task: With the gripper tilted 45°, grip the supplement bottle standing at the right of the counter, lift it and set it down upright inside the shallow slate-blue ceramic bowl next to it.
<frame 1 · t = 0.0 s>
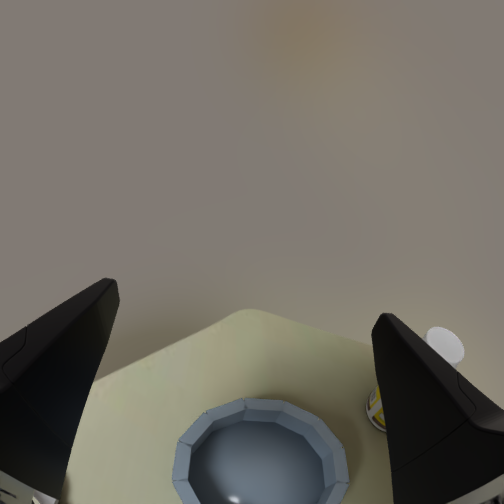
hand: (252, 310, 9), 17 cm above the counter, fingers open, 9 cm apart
supplement bottle: (386, 412, 23), on the counter
bowl: (257, 477, 16), on the counter
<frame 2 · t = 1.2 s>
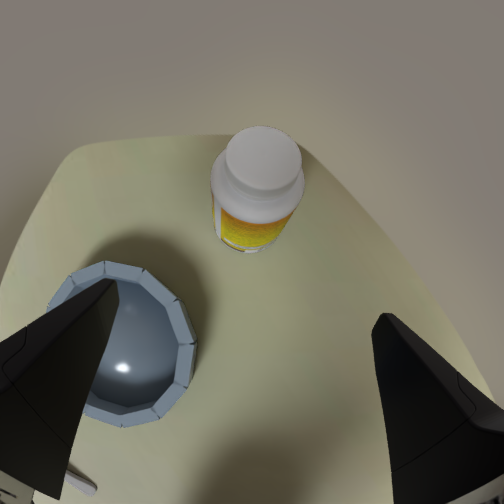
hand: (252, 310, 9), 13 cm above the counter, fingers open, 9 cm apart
supplement bottle: (246, 222, 24), on the counter
bowl: (122, 344, 20), on the counter
spoon: (49, 452, 17), on the counter
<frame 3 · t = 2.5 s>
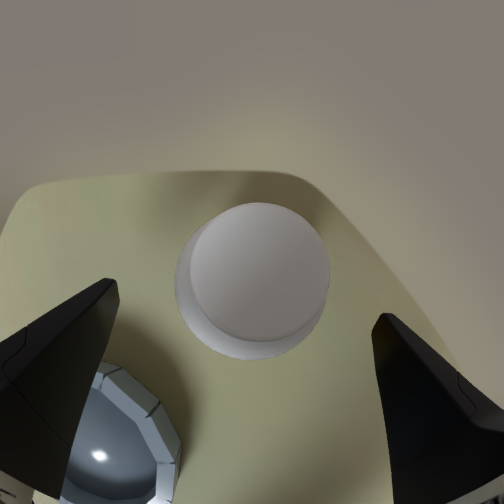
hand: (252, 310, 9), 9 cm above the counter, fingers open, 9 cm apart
supplement bottle: (239, 300, 18), on the counter
bowl: (95, 439, 14), on the counter
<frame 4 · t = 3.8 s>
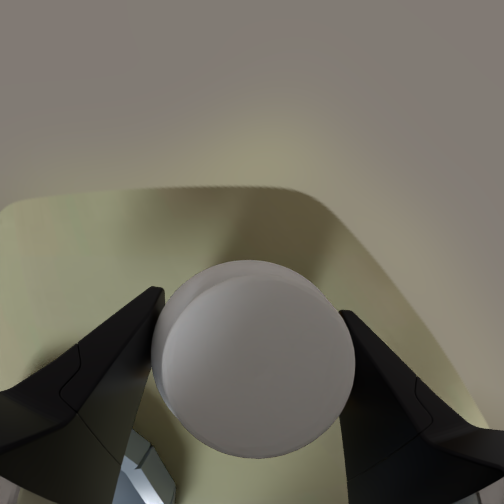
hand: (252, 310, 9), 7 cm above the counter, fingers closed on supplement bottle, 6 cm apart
supplement bottle: (236, 339, 15), on the counter, touching gripper
bowl: (87, 476, 12), on the counter
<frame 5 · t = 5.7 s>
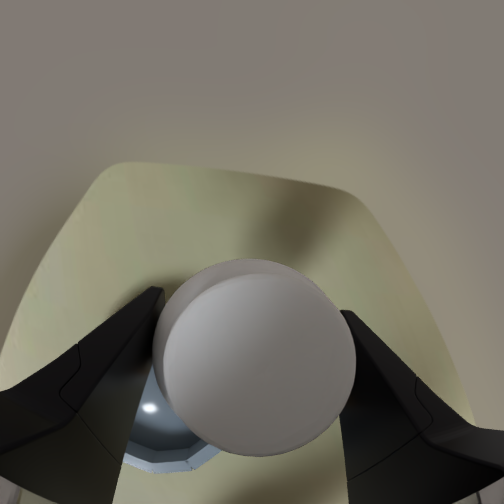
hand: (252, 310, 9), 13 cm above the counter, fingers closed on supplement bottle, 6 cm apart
supplement bottle: (236, 338, 15), point 6 cm above the counter, touching gripper
bowl: (156, 392, 20), on the counter
when the fingers open (8 cm above the counter, at t = 7.7 s): supplement bottle stays where it is, resting on bowl.
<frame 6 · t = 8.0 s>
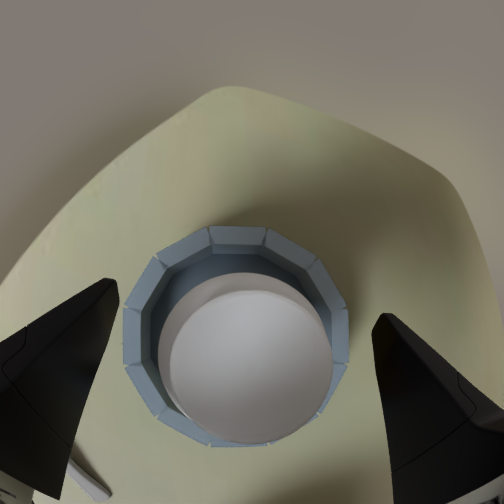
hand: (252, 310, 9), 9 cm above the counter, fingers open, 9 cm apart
supplement bottle: (234, 341, 16), point 1 cm above the counter, touching bowl
bowl: (235, 337, 17), on the counter
spoon: (59, 436, 14), on the counter
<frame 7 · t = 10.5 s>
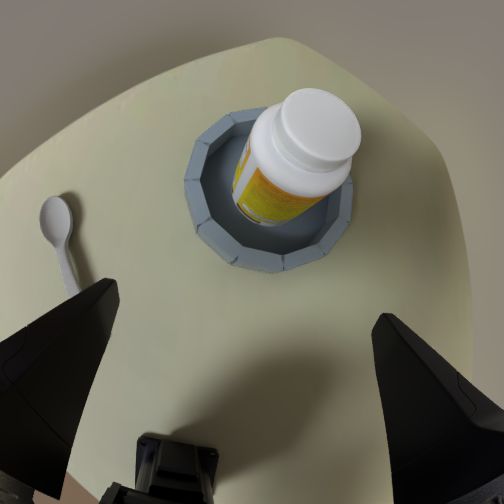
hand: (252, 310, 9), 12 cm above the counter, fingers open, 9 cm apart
supplement bottle: (266, 192, 22), point 1 cm above the counter, touching bowl
bowl: (265, 193, 22), on the counter
spoon: (74, 270, 19), on the counter
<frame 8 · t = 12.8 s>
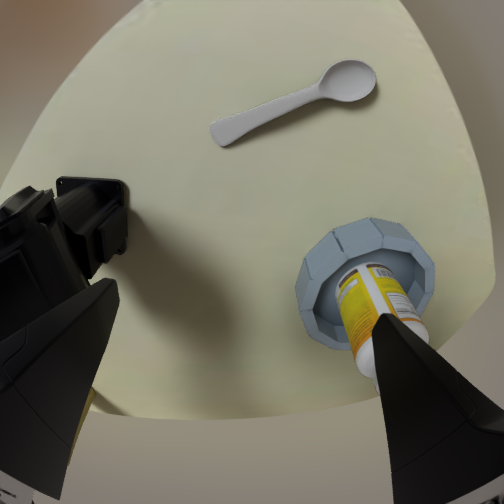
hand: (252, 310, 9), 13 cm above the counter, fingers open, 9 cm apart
vase: (79, 385, 37), on the counter
supplement bottle: (363, 284, 24), point 1 cm above the counter, touching bowl
bowl: (362, 280, 24), on the counter
spoon: (292, 99, 17), on the counter
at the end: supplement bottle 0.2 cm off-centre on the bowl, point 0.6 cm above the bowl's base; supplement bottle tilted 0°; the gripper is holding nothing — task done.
